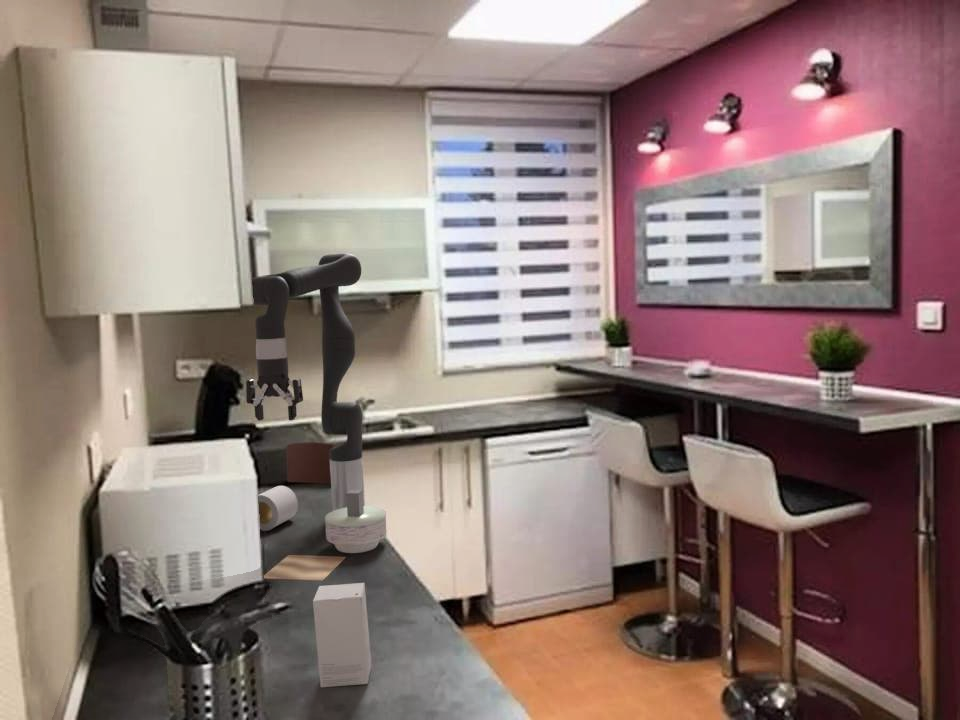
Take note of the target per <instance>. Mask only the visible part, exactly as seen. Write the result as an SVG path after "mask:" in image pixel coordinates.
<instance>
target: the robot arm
mask: <svg viewBox="0 0 960 720" xmlns="http://www.w3.org/2000/svg"><path fill="white" fill-rule="evenodd" d="M361 275H362V264H361V262H360V260H359V258H358V257H357V256H356V255H354V254H351V253H345V252H344V253H336V254H335V253H333V254H326V255H323V256H322V257H321V258H320V259H319V262H318V264H317V265H311V266H304V267H299V268H294V269H289V270H286V271H283V272H280V273H275V274H265V275H260V276H256V277H253V278H251V280H252V285H253V298H254V303H253V304H254V305H258V306H266V305H267V308H266V312H265V313H264V314H261V315H258V316H257V317H256V318H255V325H254V326H255V337H256V341H255V342H256V344H255V356H256V357H255V358H256V369H257V371H256V373H257V375H258V376H257V379H254V378H252V379H251V378H250V379H248V380H246V387H245V389H246V390H245V391H246V392H245V393H246V397H245V398H246V404H251V405H253V406H254V416H255V417H254V418H256V419H257V421H264V418H265V417H264V416H265V415H264V405H263V402H264V401H265V400H266V398H271V397H277V398H278V397H281V398H282V399H283V401H285V402H286V404H287V405H288V406H287V414H288V421H294V420H295V418H296V417H297V415H298V414H297V405H298V403H302V402H304V394H303V385H302V380H301V378H295V379H290V378H289V362H288V346H287V341H286V332H285V331H286V328H285V319H286V315H287V314H286V313H287V309H288V303H289V299H293V298H296V297H300V296H303V295H306V294H310V293H313V292H315V291H319V297H320V306H321V328H322V329H321V351H322V352H321V353H322V382H323V383H322V393H321V394H322V397H321V414H320V415H321V418H320V419H321V428H322V429H323V433H325V434H326V435H333V436H334V435H337V436H341V435H342V436H343V435H344V436H347V437H346V441H345V442H343V443H341V444H338V445H337V446H335V447H333V448H331V449H330V452H329V457H330V474H331V484H330V487H331V488H330V489H331V504H332V505H331V506H332V511H334V510H337V509H341V508H346V507H347V498H346V493H347V492H348V491H350V490H363V506H366V503H365V502H366V501H365V484H364V481H365V480H364V465H363V462H364V461H363V411H362V407H361V405H360V404H359V403H358V402H356V401H355V402H354V401H353V402H352V401H350V402H349V401H348V402H347V401H338V391H339V387H340V384H341V383H342V380H343V378H344V377H345V374H346V373H347V372H348V370H349V368H350V367H351V365H352V363H353V361H354V359H355V356H356V337H355V336H356V335H355V330H354V328H353V326H352V324H351V321H350V320H349V318H348V317H347V315H346V313H345V312H344V310H343V308H342V306H341V301H340V294H339V292H340V290H339V288H340V287H349V286H353V285H354V284H357V282H359V280H360V278H361ZM289 386H290V387H291V388H292V389H293V393H292V392H291V391H290V389H289ZM257 387H258V388H259V392H258V393H257V395H256V388H257Z"/></svg>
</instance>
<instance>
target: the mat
mask: <svg viewBox="0 0 960 720" xmlns="http://www.w3.org/2000/svg"><path fill="white" fill-rule="evenodd" d="M346 558H347V557H346V556H335V555H334V556H332V555H331V556H329V555H327V556H326V555H301V554H300V555H299V554H288V555H287V556H286V557H284V558H283V559H282V560H280V562H278V563H277V564H276V565H274V566H273V568H271V569H269V570H268V571H267V572H266V573H265V574H263V576H264V578H263V579H271V580H290V581H291V580H292V581H293V580H296V581H297V580H298V581H319V582H320V581H321V582H322V581H324V580H325V579H326V578H327V577H328V576H329V575H330V574H331V573H332V572H333V571H334V570H335V569H336V568H337V567H338V566H339V565H340V564H341V563H342V562H343V561H344V560H345V559H346Z"/></svg>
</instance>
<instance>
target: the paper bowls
mask: <svg viewBox="0 0 960 720" xmlns="http://www.w3.org/2000/svg"><path fill="white" fill-rule="evenodd" d="M324 523H325V539H326V541H328V542H329V543H331V544H333V545H334V546H335V549H336V550H337V551H339V552H340V553H346V554H358V553H359V554H361V553H366V552H370V551H372V550H374V549H375V548H377V546H378V545H379V544H380V542H381V541H382V540H384V539H385V538H386V537H387V516H386V517H385V519H383V520H382V521H380V522H377V523H375V524H371V525H367V526H360V527H336V526H332V525H329V524H327V523H326V521H325V522H324Z"/></svg>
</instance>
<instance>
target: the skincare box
mask: <svg viewBox="0 0 960 720" xmlns="http://www.w3.org/2000/svg"><path fill="white" fill-rule="evenodd" d="M365 585H366V584H365V582H357V583H345V584H344V583H342V584H331V585H329V584H328V585H319V586H318V588H317V591H316V593H315V596H314V597H313V600H312V607H313V618H314V627H315V628H314V629H315V630H314V631H315V639H316V640H315V641H316V651H317V653H316V654H317V660H318V661H317V662H318V663H317V664H318V672H319V674H318V675H319V684H320V688H331V687H344V686H345V687H346V686H347V687H348V686H360V685H368V683H369V679H370V677H371V676H370V675H371V674H370V673H371V670H372V656H371V644H370V633H369V619H368V609H367V598H366V597H367V596H366V587H365Z"/></svg>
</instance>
